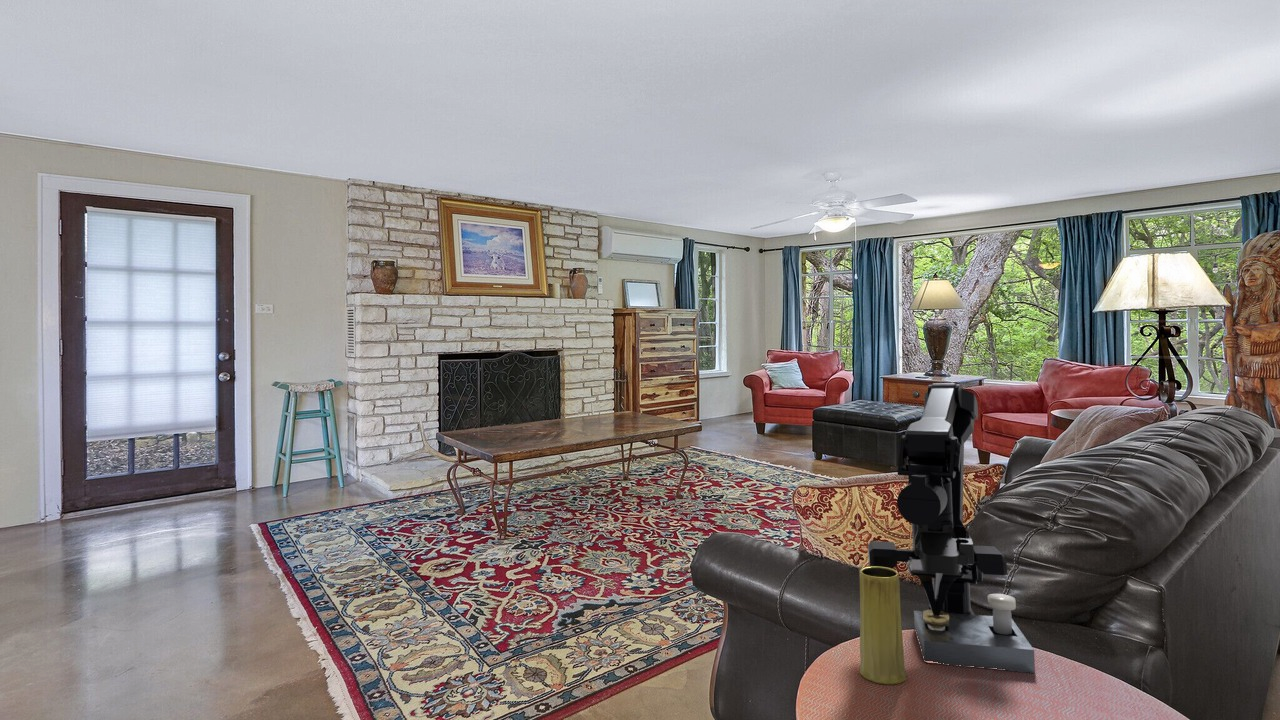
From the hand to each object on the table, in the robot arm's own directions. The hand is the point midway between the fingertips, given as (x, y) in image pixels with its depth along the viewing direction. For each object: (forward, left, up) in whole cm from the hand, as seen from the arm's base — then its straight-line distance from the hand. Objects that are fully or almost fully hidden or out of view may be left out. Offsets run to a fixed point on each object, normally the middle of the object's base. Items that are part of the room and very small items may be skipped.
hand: (936, 614), depth 98 cm
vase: (+11, -9, -5) cm, 15 cm away
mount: (0, +4, -5) cm, 7 cm away
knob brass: (0, 0, -5) cm, 5 cm away
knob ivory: (0, +9, -2) cm, 9 cm away
